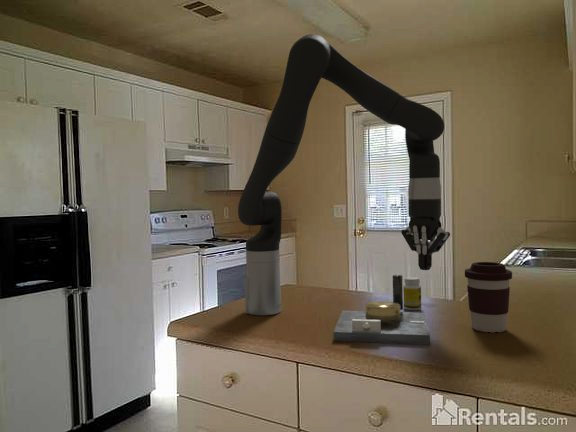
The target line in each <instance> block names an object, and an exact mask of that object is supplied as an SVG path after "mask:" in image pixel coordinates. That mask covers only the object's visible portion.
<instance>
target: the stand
mask: <svg viewBox="0 0 576 432" xmlns="http://www.w3.org/2000/svg"><path fill="white" fill-rule="evenodd" d="M400 314H401V319H400V320H399V321H396V322H389V323H381V320H367V319H366V311H365V310H342V311H341V313H340V315H339V317H338V320H337V323H336V325H335V328H334V330H333V341H334V342H351V343H353V342H354V343H375V344H377V343H378V344H397V345H398V344H399V345H400V344H401V345H403V344H404V345H405V344H406V345H427V346H431V334H430V332H429V331H430V330H429V328H428V323H427V321H426V317H425V313H424V312H416V311H415V312H414V311H413V312H410V311H400Z"/></svg>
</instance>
